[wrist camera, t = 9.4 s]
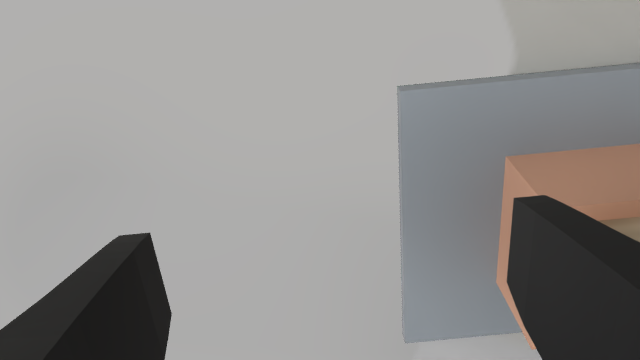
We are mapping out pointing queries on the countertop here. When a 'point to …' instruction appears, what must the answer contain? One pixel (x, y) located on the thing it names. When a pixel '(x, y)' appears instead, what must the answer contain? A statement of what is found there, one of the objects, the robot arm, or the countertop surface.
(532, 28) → the countertop surface
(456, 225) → the baseplate
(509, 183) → the base block
